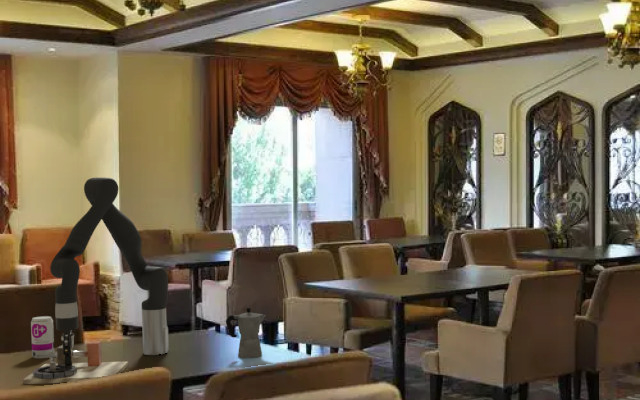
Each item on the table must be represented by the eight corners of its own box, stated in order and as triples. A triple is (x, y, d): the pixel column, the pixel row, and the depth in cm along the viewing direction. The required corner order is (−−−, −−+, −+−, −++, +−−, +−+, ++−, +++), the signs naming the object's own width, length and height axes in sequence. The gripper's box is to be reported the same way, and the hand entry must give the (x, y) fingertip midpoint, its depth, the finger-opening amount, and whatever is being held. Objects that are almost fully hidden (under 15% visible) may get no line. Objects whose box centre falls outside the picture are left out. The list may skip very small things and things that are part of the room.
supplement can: (47, 359, 336) (46, 319, 336) (28, 358, 338) (26, 319, 337) (58, 354, 344) (56, 316, 343) (38, 354, 346) (37, 315, 345)
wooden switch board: (128, 365, 320) (127, 342, 320) (113, 381, 296) (112, 356, 296) (45, 368, 320) (44, 345, 320) (23, 384, 296) (22, 359, 296)
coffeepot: (263, 351, 338) (262, 304, 338) (270, 356, 329) (269, 307, 329) (224, 355, 333) (222, 307, 332) (230, 360, 324) (228, 311, 324)
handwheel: (57, 367, 312) (57, 346, 312) (85, 371, 305) (85, 349, 305) (24, 375, 300) (23, 353, 300) (52, 380, 293) (52, 357, 293)
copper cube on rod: (101, 363, 318) (101, 341, 318) (99, 365, 314) (98, 343, 314) (51, 364, 318) (50, 342, 318) (48, 367, 314) (47, 344, 314)
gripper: (76, 318, 301) (78, 368, 302) (79, 311, 315) (81, 360, 315) (53, 319, 300) (55, 370, 300) (57, 313, 313) (59, 361, 314)
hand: (68, 364), depth 308 cm, fingers closed on handwheel
